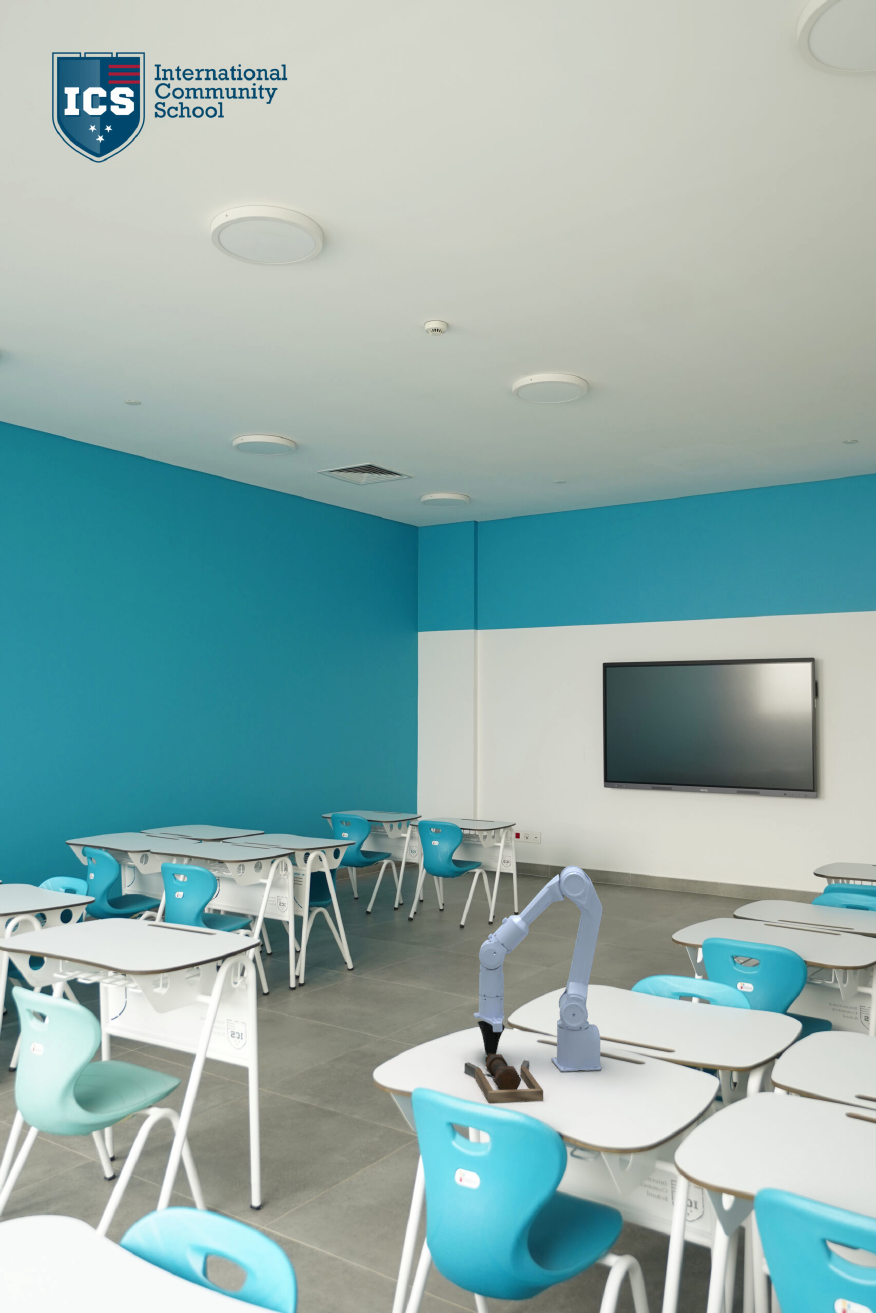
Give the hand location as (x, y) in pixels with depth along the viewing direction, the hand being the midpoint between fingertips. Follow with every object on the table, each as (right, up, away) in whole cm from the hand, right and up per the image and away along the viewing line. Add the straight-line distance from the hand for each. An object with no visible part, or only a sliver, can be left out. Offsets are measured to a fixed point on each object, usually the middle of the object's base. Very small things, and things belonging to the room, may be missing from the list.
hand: (490, 1054), depth 218 cm
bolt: (+1, -1, -12) cm, 12 cm away
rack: (+2, 0, -15) cm, 15 cm away
